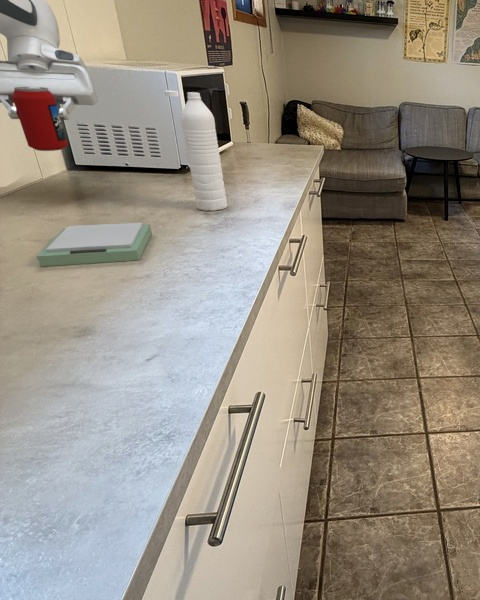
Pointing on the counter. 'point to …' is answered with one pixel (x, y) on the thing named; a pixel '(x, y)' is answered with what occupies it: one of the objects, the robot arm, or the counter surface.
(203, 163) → the water bottle
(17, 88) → the beverage can
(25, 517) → the counter surface
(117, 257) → the kitchen scale
